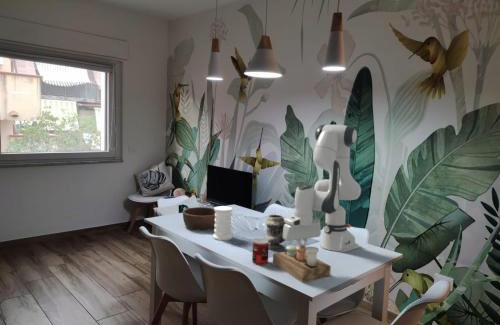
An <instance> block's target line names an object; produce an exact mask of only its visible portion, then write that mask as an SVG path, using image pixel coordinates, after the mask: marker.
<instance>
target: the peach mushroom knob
mask: <svg viewBox="0 0 500 325" xmlns="http://www.w3.org/2000/svg"><path fill="white" fill-rule="evenodd" d="M307 247H308V246H306V245H305V247H304V248H298V245H296V250H297V261H299V262H303V261H305V253H307V251H306V248H307Z"/></svg>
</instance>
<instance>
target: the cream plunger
mask: <svg viewBox="0 0 500 325" xmlns="http://www.w3.org/2000/svg"><path fill="white" fill-rule="evenodd" d="M306 247H307V248H306V253H307V254H308V256H307V265H309V266H316V258H317V255H318V254H317V253H319V248H318V247H316V246H306Z"/></svg>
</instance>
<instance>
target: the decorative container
mask: <svg viewBox="0 0 500 325" xmlns="http://www.w3.org/2000/svg"><path fill="white" fill-rule="evenodd" d="M213 208H214V211H215V225H214V226H215V228H214V230H213V231H214V234H212V239H214V240H216V241H223V242H224V241H230V240H232V238H233V235H232V233H231V232H232V229H231V228H232V214H233V213H232V212H233V207H231V206H226V205H225V206H224V205H221V206H215V207H213Z"/></svg>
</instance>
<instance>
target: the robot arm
mask: <svg viewBox="0 0 500 325" xmlns="http://www.w3.org/2000/svg"><path fill="white" fill-rule="evenodd" d="M314 138H315V140H316V143H315V146H314V148H313V149H314V150H313V153H312V159H313V162H314V163H315V165H317V166H318V167H319V168H321V169H323V170H324V171H326V172H328V174H329V175H328V176H329V179H327V178H326V179H325V178H324V179H318V180H317V181H316V182H315V184H314V187H313V185H312V184H307V183H305V184H304V183H303V184H299V185H297V186H296V189H295V193H294V211H293V213H292V214H291V215H289V216H287V217H286V218H284V222H285V223H286V224H285V225H284V228H283V238H284V240H285V241H286V242H292V241H296V243H297V246H298V248H304V247H305V246H306V244H307V243H308V240H309V239H312V238H318V237H320V236H321V234H322V232H321V230H322V229H321V219H320V218H319V217H314V213H313V211H317V212H322V213H325V221H324V224H323V230H324V231H323V237H322V240H321V245H320V247H322V248H323V249H325V250H328V251H332V252H333V251H334V252H342V253H347V252H350V251H353V250H355V249H358V248H360V245H359V244H358V243H356V237H355V236H354V235H353V234H352V233H351V231H349V230H348V229H350V228H351V227H352V226H351V224H349V223H346V214H347V212H346V209H345V208H344V207H343V206H342V205H340V200H341V201H342V200H343V201H353V200H357V199H359V198H360V196H361V193H362V188H361V185H360V184H359V183H358V182H357V181H356V180H355V179H354V178H353V176H352V174H351V170H350V160H351V158H350V157H351V150H350V149H351V148H350V147H351V146H353V145H354V144H355V143H356V141H357V138H358V133H357V129H356V128H355V127H354V126H351V125H343V124H320V125H318V126H317V128H316V130H315V134H314Z"/></svg>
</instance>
